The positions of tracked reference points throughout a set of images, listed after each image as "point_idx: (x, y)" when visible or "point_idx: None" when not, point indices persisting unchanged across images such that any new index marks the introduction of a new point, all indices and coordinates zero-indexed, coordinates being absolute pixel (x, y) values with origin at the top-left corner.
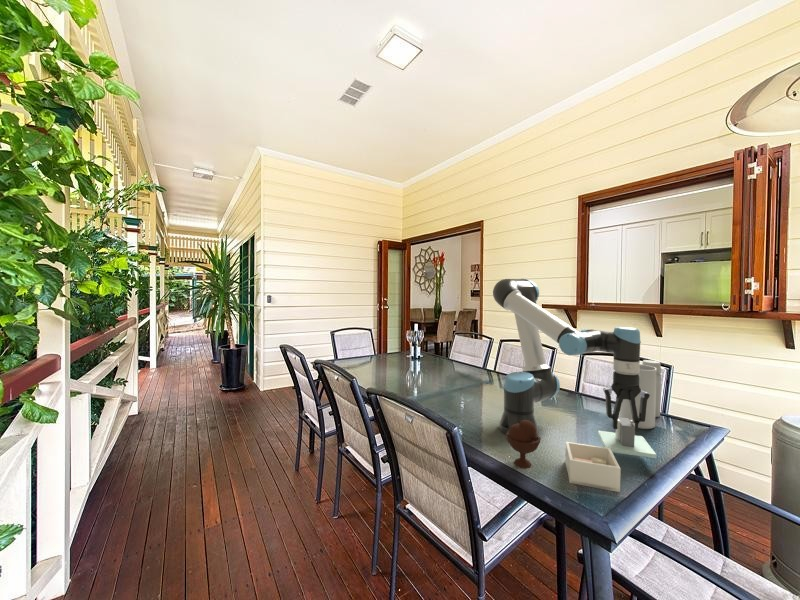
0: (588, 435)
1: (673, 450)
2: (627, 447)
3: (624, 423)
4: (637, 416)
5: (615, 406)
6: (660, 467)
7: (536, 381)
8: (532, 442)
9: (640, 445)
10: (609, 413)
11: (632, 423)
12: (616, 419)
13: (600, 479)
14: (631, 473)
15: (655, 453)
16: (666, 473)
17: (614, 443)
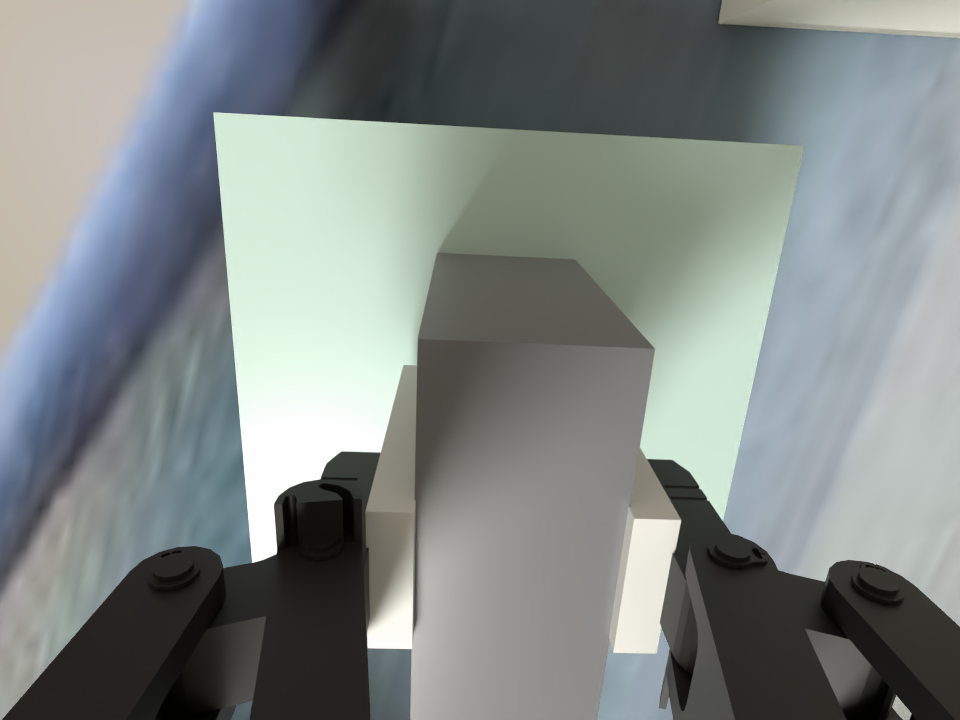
0: (662, 671)
1: (42, 605)
2: (520, 228)
3: (567, 470)
4: (273, 629)
5: None
6: (217, 240)
7: None
8: None
9: (342, 340)
10: (932, 640)
11: (410, 504)
12: (720, 537)
13: None
14: (526, 3)
15: (218, 145)
16: (192, 125)
17: (645, 300)
